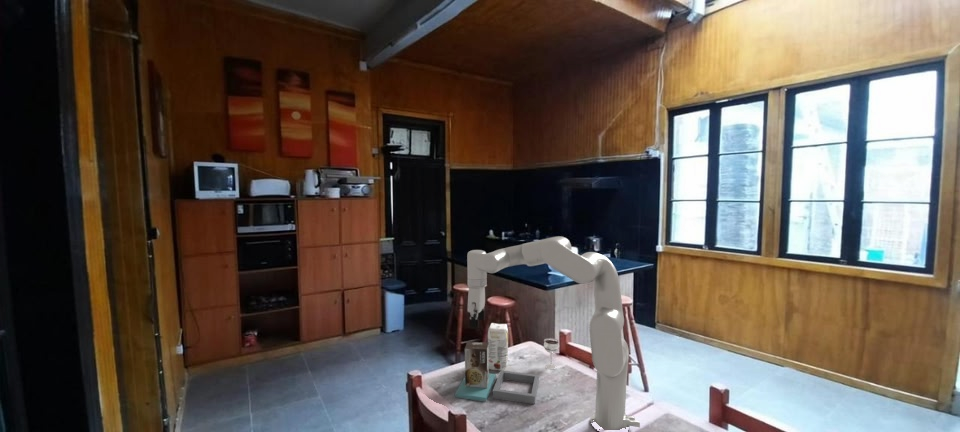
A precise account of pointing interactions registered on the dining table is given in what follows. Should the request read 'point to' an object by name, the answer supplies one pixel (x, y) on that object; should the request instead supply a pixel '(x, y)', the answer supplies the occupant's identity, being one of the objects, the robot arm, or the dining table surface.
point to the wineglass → (551, 349)
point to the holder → (512, 394)
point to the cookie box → (477, 364)
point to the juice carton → (498, 346)
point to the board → (475, 390)
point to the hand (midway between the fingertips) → (477, 324)
